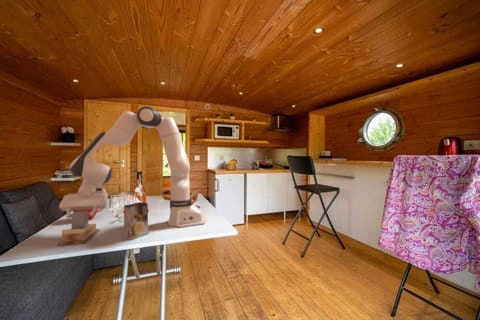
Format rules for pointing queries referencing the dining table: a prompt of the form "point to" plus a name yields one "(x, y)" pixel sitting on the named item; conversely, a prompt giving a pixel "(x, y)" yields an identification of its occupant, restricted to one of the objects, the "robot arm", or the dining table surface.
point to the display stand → (78, 235)
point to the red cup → (88, 212)
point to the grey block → (79, 219)
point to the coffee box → (135, 220)
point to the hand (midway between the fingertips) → (79, 216)
